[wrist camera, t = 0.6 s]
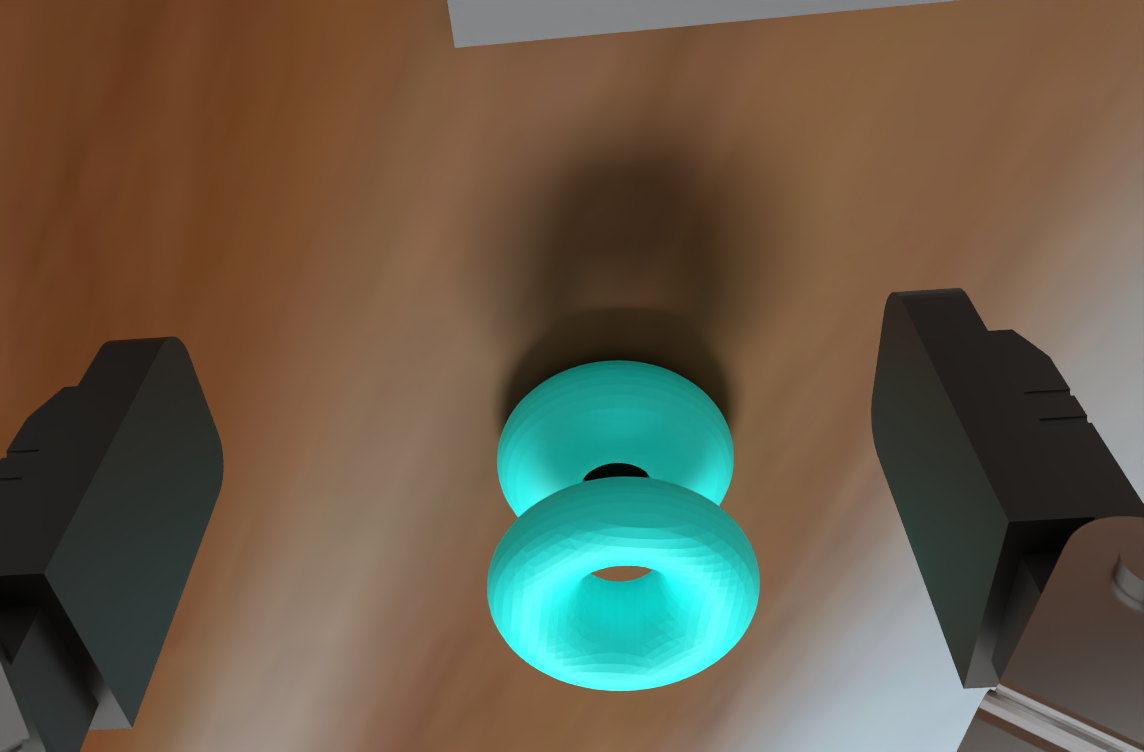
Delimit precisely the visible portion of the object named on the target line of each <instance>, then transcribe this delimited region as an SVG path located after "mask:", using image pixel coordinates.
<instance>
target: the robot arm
mask: <svg viewBox="0 0 1144 752" xmlns="http://www.w3.org/2000/svg"><path fill="white" fill-rule="evenodd" d="M871 419H872V432H873V438H874V444H875V448H876V452H877V455H878V458H879V460H880V463H881V466H882V469H883V471H884V474H885V477H886V479H887V482H888V485H889V488H890V490H891V493H892V496H893V498H894V501H895V504H896V507H897V509H898V512H899V515H900V517H901V520H902V523H903V525H904V528H905V531H906V534H907V536H908V539H909V542H910V544H911V547H912V550H913V553H914V555H915V558H916V561H917V563H918V566H919V569H920V572H921V574H922V577H923V580H924V582H925V585H926V588H927V591H928V593H929V596H930V599H931V601H932V604H933V607H934V610H935V612H936V615H937V618H938V620H939V623H940V626H941V629H942V631H943V634H944V637H945V639H946V642H947V645H948V648H949V650H950V653H951V656H952V658H953V661H954V664H955V667H956V669H957V672H958V675H959V677H960V680H961V683H962V686H963V688H964V689H965V688H984V687H996V689H995V691H993V690H991V689H990V690H989V691H988V692H987V693H986V695H985V696H984V698H983V700H982V702H981V703H980V705H979V707H978V709H977V711H976V713H975V715H974V717H973V719H972V721H971V723H970V725H969V727H968V729H967V731H966V733H965V735H964V738H963V740H962V742H961V744H960V746H959V748H958V750H957V752H1144V504H1143V502H1142V501H1141V499H1140V498H1139V496H1138V495H1137V493H1136V491H1135V490H1134V488H1133V487H1132V485H1131V484H1130V482H1129V480H1128V479H1127V477H1126V476H1125V474H1124V473H1123V471H1122V469H1121V468H1120V466H1119V465H1118V463H1117V462H1116V460H1115V459H1114V457H1113V455H1112V454H1111V452H1110V451H1109V449H1108V448H1107V446H1106V444H1105V443H1104V441H1103V440H1102V438H1101V437H1100V435H1099V433H1098V432H1097V430H1096V429H1095V427H1094V426H1093V424H1092V423H1088V422H1087V415H1086V413H1085V412H1084V410H1083V408H1082V407H1081V405H1080V404H1079V402H1078V401H1077V399H1076V397H1075V396H1071V395H1070V388H1069V386H1068V385H1067V383H1066V382H1065V380H1064V379H1063V377H1062V376H1061V374H1060V372H1059V371H1058V369H1057V368H1056V366H1055V365H1054V363H1053V361H1052V360H1051V358H1050V357H1049V356H1048V355H1047V354H1045V353H1044V352H1042V351H1041V350H1040V349H1038V348H1037V347H1036V346H1034V345H1033V344H1031V343H1030V342H1029V341H1027V340H1026V339H1025V338H1023V337H1022V336H1020V335H1019V334H1018V333H1016V332H1015V331H1014V330H997V331H988V330H987V328H986V327H985V325H984V323H983V321H982V320H981V318H980V316H979V314H978V313H977V311H976V309H975V308H974V306H973V304H972V302H971V301H970V299H969V297H968V296H967V294H966V293H965V291H963V290H962V289H960V288H952V289H936V290H921V291H905V292H892V293H891V294H890V295H889V297H888V299H887V302H886V305H885V310H884V317H883V324H882V331H881V338H880V345H879V352H878V359H877V366H876V374H875V381H874V388H873V395H872V405H871ZM6 453H7V457H6V458H2V459H1V460H0V752H80V749H81V747H82V744H83V742H84V739H85V737H86V734H87V732H88V730H106V729H125V728H132V727H133V724H134V722H135V719H136V716H137V713H138V711H139V708H140V705H141V703H142V700H143V697H144V695H145V692H146V689H147V687H148V684H149V681H150V678H151V676H152V673H153V670H154V668H155V665H156V662H157V660H158V657H159V654H160V652H161V649H162V646H163V643H164V641H165V638H166V635H167V633H168V630H169V627H170V625H171V622H172V619H173V617H174V614H175V611H176V608H177V606H178V603H179V600H180V598H181V595H182V592H183V590H184V587H185V584H186V581H187V579H188V576H189V573H190V571H191V568H192V565H193V563H194V560H195V557H196V555H197V552H198V549H199V546H200V544H201V541H202V538H203V536H204V533H205V530H206V528H207V525H208V522H209V520H210V517H211V514H212V511H213V509H214V506H215V503H216V501H217V498H218V495H219V492H220V489H221V485H222V480H223V452H222V445H221V441H220V438H219V434H218V432H217V429H216V426H215V424H214V421H213V418H212V416H211V413H210V410H209V407H208V405H207V402H206V399H205V397H204V394H203V391H202V389H201V386H200V383H199V380H198V378H197V375H196V372H195V370H194V367H193V364H192V361H191V359H190V356H189V354H188V351H187V349H186V347H185V346H184V344H183V343H182V342H181V340H179V339H178V338H176V337H160V338H145V339H129V340H114V341H108V342H106V343H105V344H103V345H102V347H101V348H100V349H99V351H98V353H97V355H96V356H95V358H94V360H93V361H92V363H91V365H90V366H89V368H88V370H87V371H86V373H85V375H84V376H83V378H82V380H81V381H80V383H79V385H78V386H74V387H64V388H63V389H61V390H60V391H59V392H58V393H57V394H55V395H54V396H53V397H52V398H51V399H49V400H48V401H47V402H46V403H45V404H43V405H42V406H41V407H40V408H39V409H37V410H36V411H35V412H34V413H33V414H31V415H30V416H29V417H28V418H27V419H26V421H25V422H24V424H23V426H22V427H21V429H20V430H19V432H18V433H17V435H16V437H15V438H14V440H13V441H12V443H11V444H10V446H9V448H8V449H7V451H6Z"/></svg>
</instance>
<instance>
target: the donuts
mask: <svg viewBox="0 0 1144 752" xmlns="http://www.w3.org/2000/svg"><path fill="white" fill-rule="evenodd" d="M611 463H626V464H631V465H634V466H637V467H639V468H641V469H643V470H644V471H646V472H647V474H648V475H649V476H648V477H646V478H644V477H609V478H601V479H595V480H590V481H585V480H584V477H585V476H586V475H587V474H588V473H589V472H590V471H592V470H593V469H595V468H597V467H600V466H602V465H605V464H611ZM733 464H734V448H733V442H732V438H731V434H730V430H729V428H728V425H727V423H726V421H725V419H724V417H723V415H722V413H721V412H720V410H719V409H718V407H717V406H716V405H715V403H714V402H713V401H712V400H711V398H710V397H709V396H708V395H707V394H706V393H705V392H704V391H703V390H701V389H700V388H699V387H698V386H696V385H695V384H694V383H692V382H691V381H689V380H687V379H686V378H684V377H682V376H680V375H678V374H676V373H674V372H672V371H670V370H667V369H665V368H662V367H659V366H655V365H652V364H647V363H642V362H636V361H623V360H613V361H601V362H593V363H588V364H584V365H580V366H577V367H574V368H571V369H568V370H565V371H563V372H561V373H558V374H556V375H554V376H553V377H551V378H549V379H547V380H546V381H544V382H543V383H541V384H540V385H538V386H537V387H536V388H534V389H533V390H532V391H531V392H530V393H528V394H527V395H526V396H525V397H524V398H523V399H522V400H521V401H520V403H519V404H518V405H517V406H516V408H515V409H514V410H513V412H512V413H511V415H510V417H509V418H508V420H507V422H506V424H505V426H504V429H503V431H502V434H501V437H500V440H499V446H498V454H497V470H498V476H499V480H500V484H501V488H502V490H503V493H504V495H505V498H506V500H507V501H508V503H509V505H510V506H511V508H512V509H513V511H514V512H515V514H516V515H517V516H518V518H517V520H516V521H515V522H514V523H513V524H512V525H511V526H510V528H509V529H508V530H507V532H506V533H505V534H504V536H503V537H502V539H501V540H500V542H499V544H498V546H497V548H496V550H495V552H494V555H493V558H492V560H491V564H490V567H489V572H488V583H487V594H488V602H489V606H490V610H491V614H492V617H493V620H494V622H495V624H496V626H497V628H498V630H499V632H500V633H501V635H502V636H503V638H504V639H505V641H506V642H507V643H508V645H509V646H510V647H511V648H512V649H513V650H514V651H515V652H516V653H517V654H518V655H519V656H520V657H521V658H522V659H524V660H525V661H526V662H528V663H529V664H530V665H532V666H533V667H535V668H536V669H538V670H540V671H542V672H543V673H545V674H548V675H550V676H552V677H554V678H556V679H559V680H561V681H564V682H567V683H570V684H574V685H578V686H582V687H587V688H592V689H599V690H611V691H629V690H640V689H648V688H654V687H659V686H663V685H667V684H671V683H674V682H677V681H680V680H682V679H685V678H687V677H690V676H692V675H694V674H696V673H698V672H700V671H702V670H704V669H705V668H707V667H709V666H710V665H712V664H714V663H715V662H716V661H718V660H719V659H720V658H721V657H723V656H724V655H725V654H726V653H727V652H728V651H729V650H731V649H732V648H733V647H734V646H735V645H736V643H737V642H738V641H739V640H740V638H741V637H742V636H743V634H744V633H745V631H746V629H747V628H748V626H749V624H750V622H751V620H752V618H753V615H754V613H755V610H756V607H757V603H758V597H759V589H760V575H759V569H758V564H757V560H756V556H755V553H754V551H753V548H752V546H751V544H750V542H749V540H748V539H747V537H746V535H745V533H744V532H743V530H742V529H741V528H740V526H739V525H738V524H737V523H736V522H735V521H734V520H733V519H732V518H731V517H730V516H729V515H728V514H727V513H726V512H725V511H724V510H723V509H722V508H721V507H719V505H720V503H721V501H722V500H723V498H724V496H725V494H726V492H727V489H728V487H729V484H730V481H731V478H732V472H733ZM621 565H633V566H642V567H647V568H651V569H654V570H653V571H651V572H650V573H649V574H647V575H645V576H643V577H641V578H638V579H635V580H631V581H625V582H615V581H607V580H604V579H600V578H598V577H596V576H594V575H592V574H591V572H594V571H597V570H600V569H602V568H607V567H611V566H621Z"/></svg>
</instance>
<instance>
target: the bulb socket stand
mask: <svg viewBox="0 0 1144 752" xmlns="http://www.w3.org/2000/svg"><path fill="white" fill-rule="evenodd" d="M447 1H448V8H449V14H450V20H451V26H452V33H453V39H454V45H455V48H458V47H469V46H480V45H490V44H501V43H511V42H522V41H533V40H543V39H554V38H564V37H575V36H585V35H596V34H607V33H617V32H628V31H638V30H649V29H660V28H670V27H681V26H691V25H702V24H713V23H723V22H734V21H744V20H755V19H766V18H776V17H787V16H797V15H808V14H818V13H829V12H840V11H850V10H861V9H871V8H882V7H893V6H903V5H914V4H924V3H935V2H946V1H956V0H447Z"/></svg>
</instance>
